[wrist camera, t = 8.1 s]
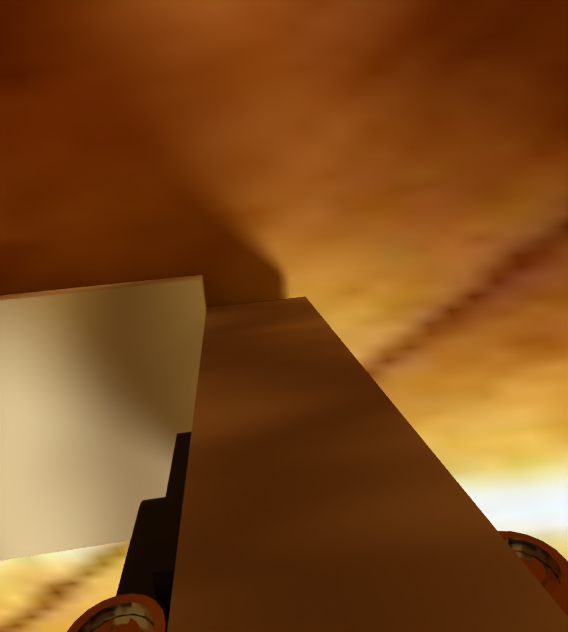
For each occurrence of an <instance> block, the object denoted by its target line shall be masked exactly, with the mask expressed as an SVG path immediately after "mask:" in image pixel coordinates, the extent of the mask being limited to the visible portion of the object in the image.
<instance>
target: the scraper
mask: <svg viewBox="0 0 568 632" xmlns="http://www.w3.org/2000/svg"><path fill="white" fill-rule="evenodd" d="M185 432H191V440H190V448H189V457H188V465H187V473H186V481H185V489H184V498H183V506H182V514H181V522H180V530H179V539H178V547H177V555H176V563H175V571H174V580H173V588H172V596H171V604H170V612H169V621H168V629H167V632H568V616H567V615H566V614H565V613H564V612H563V610H562V609H561V608H560V607H559V605H558V604H557V603H556V602H555V601H554V599H553V598H552V597H551V596H550V594H549V593H548V592H547V591H546V590H545V588H544V587H543V586H542V585H541V583H540V582H539V581H538V580H537V579H536V577H535V576H534V575H533V574H532V573H531V571H530V570H529V569H528V568H527V566H526V565H525V564H524V563H523V562H522V560H521V559H520V558H519V557H518V555H517V554H516V553H515V552H514V551H513V549H512V548H511V547H510V546H509V544H508V543H507V542H506V541H505V540H504V538H503V537H502V536H501V535H500V533H499V532H498V531H497V530H496V529H495V527H494V526H493V525H492V524H491V523H490V521H489V520H488V519H487V518H486V516H485V515H484V514H483V513H482V512H481V510H480V509H479V508H478V507H477V505H476V504H475V503H474V502H473V501H472V499H471V498H470V497H469V496H468V494H467V493H466V492H465V491H464V490H463V488H462V487H461V486H460V485H459V483H458V482H457V481H456V480H455V479H454V477H453V476H452V475H451V474H450V472H449V471H448V470H447V469H446V468H445V466H444V465H443V464H442V463H441V462H440V460H439V459H438V458H437V457H436V455H435V454H434V453H433V452H432V451H431V449H430V448H429V447H428V446H427V444H426V443H425V442H424V441H423V440H422V438H421V437H420V436H419V435H418V433H417V432H416V431H415V430H414V429H413V427H412V426H411V425H410V424H409V422H408V421H407V420H406V419H405V418H404V416H403V415H402V414H401V413H400V412H399V410H398V409H397V408H396V407H395V405H394V404H393V403H392V402H391V401H390V399H389V398H388V397H387V396H386V394H385V393H384V392H383V391H382V390H381V388H380V387H379V386H378V385H377V383H376V382H375V381H374V380H373V379H372V377H371V376H370V375H369V374H368V372H367V371H366V370H365V369H364V368H363V366H362V365H361V364H360V363H359V362H358V360H357V359H356V358H355V357H354V355H353V354H352V353H351V352H350V351H349V349H348V348H347V347H346V346H345V344H344V343H343V342H342V341H341V340H340V338H339V337H338V336H337V335H336V333H335V332H334V331H333V330H332V329H331V327H330V326H329V325H328V324H327V322H326V321H325V320H324V319H323V318H322V316H321V315H320V314H319V313H318V312H317V310H316V309H315V308H314V307H313V305H312V304H311V303H310V302H309V301H308V299H307V298H306V297H298V298H289V299H280V300H271V301H262V302H253V303H244V304H234V305H225V306H216V307H207V306H206V298H205V291H204V283H203V275H194V276H184V277H175V278H165V279H155V280H146V281H136V282H126V283H116V284H107V285H97V286H87V287H78V288H68V289H58V290H49V291H39V292H29V293H19V294H10V295H0V561H2V560H8V559H15V558H21V557H27V556H34V555H40V554H46V553H53V552H59V551H65V550H72V549H78V548H84V547H91V546H97V545H103V544H110V543H116V542H122V541H129V540H131V537H132V533H133V529H134V525H135V521H136V517H137V513H138V510H139V506H140V503H141V501H143V500H147V499H154V498H161V497H165V496H166V491H167V485H168V480H169V474H170V469H171V463H172V458H173V452H174V447H175V441H176V436H177V433H185Z"/></svg>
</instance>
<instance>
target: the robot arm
mask: <svg viewBox="0 0 568 632" xmlns="http://www.w3.org/2000/svg"><path fill="white" fill-rule="evenodd" d="M190 440H191V432H185V433H177V436H176V441H175V447H174V452H173V458H172V463H171V469H170V474H169V480H168V485H167V491H166V496H165V497H161V498H154V499H147V500H143V501H141V503H140V506H139V510H138V513H137V517H136V521H135V525H134V529H133V533H132V537H131V540H130V544H129V548H128V552H127V556H126V560H125V564H124V568H123V571H122V575H121V579H120V583H119V587H118V591H117V595H116V596H115V597H112V598H109V599H107V600H104V601H102V602H100V603H98V604H97V605H95V606H93V607H92V608H90V609H88V610H87V611H86V612H85V613H84V614H83V615H81V616H80V617H79V618H78V619H77V620H76V621H75V622H74V623H73V624H72V626H71V627H70V628H69V630H68V631H67V632H167V629H168V621H169V612H170V604H171V596H172V588H173V580H174V571H175V563H176V555H177V547H178V539H179V530H180V522H181V514H182V506H183V498H184V489H185V481H186V473H187V465H188V457H189V448H190ZM498 532H499V533H500V535H501V536H502V537H503V538H504V540H505V541H506V542H507V543H508V544H509V546H510V547H511V548H512V549H513V551H514V552H515V553H516V554H517V555H518V557H519V558H520V559H521V560H522V562H523V563H524V564H525V565H526V566H527V568H528V569H529V570H530V571H531V573H532V574H533V575H534V576H535V577H536V579H537V580H538V581H539V582H540V583H541V585H542V586H543V587H544V588H545V590H546V591H547V592H548V593H549V594H550V596H551V597H552V598H553V599H554V601H555V602H556V603H557V604H558V605H559V607H560V608H561V609H562V610H563V612H564V613H565V614H566V615H567V616H568V561H567V560H566V559H565V558H564V557H563V556H562V555H561V554H560V553H559V552H558V551H557V550H556V549H554V548H553V547H551V546H549V545H548V544H546V543H545V542H543V541H541V540H539V539H536V538H534V537H531V536H529V535H526V534H522V533H517V532H512V531H498Z"/></svg>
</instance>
